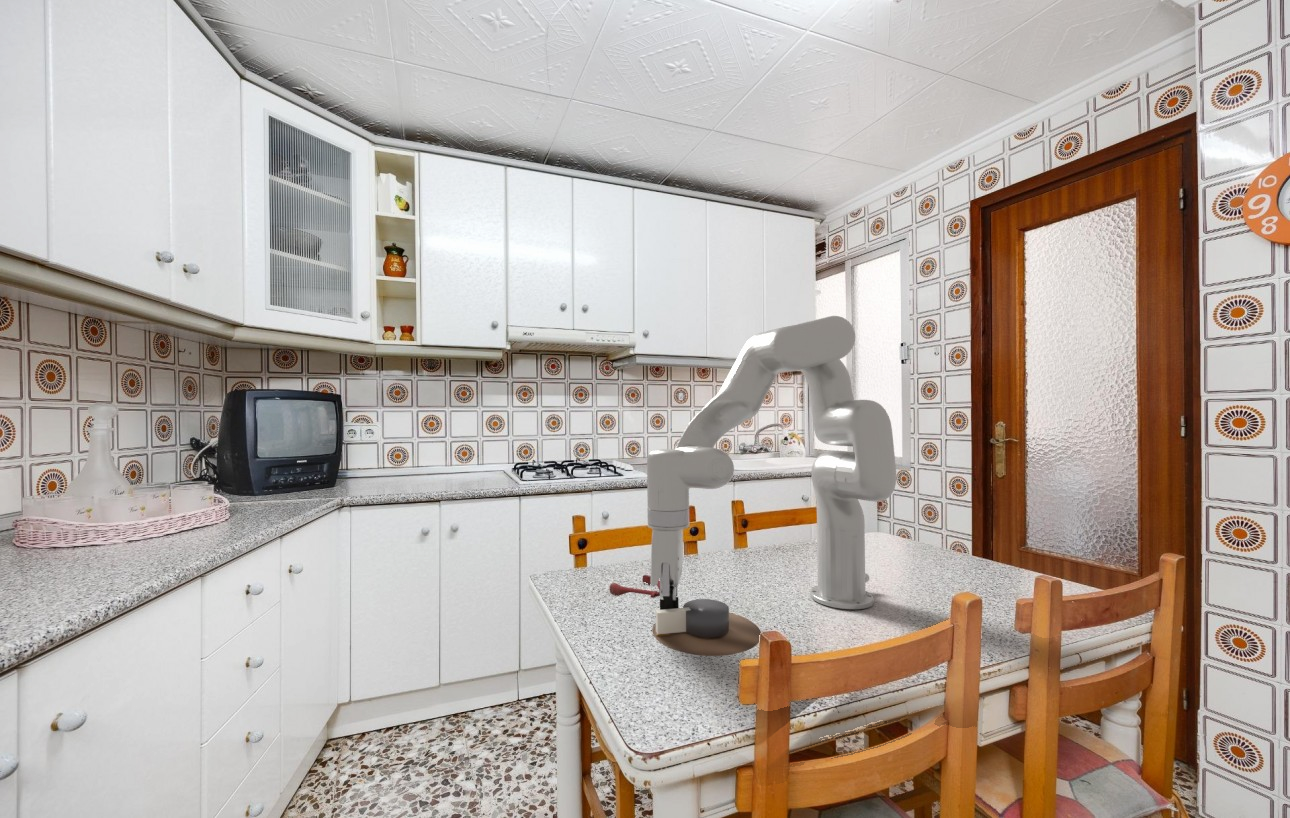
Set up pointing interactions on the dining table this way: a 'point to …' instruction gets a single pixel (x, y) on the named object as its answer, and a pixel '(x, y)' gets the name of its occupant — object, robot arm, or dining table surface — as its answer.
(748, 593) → the dining table surface
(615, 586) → the pliers
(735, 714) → the dining table surface
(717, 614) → the dial knob
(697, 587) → the dining table surface
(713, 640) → the dial plate
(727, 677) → the dining table surface
